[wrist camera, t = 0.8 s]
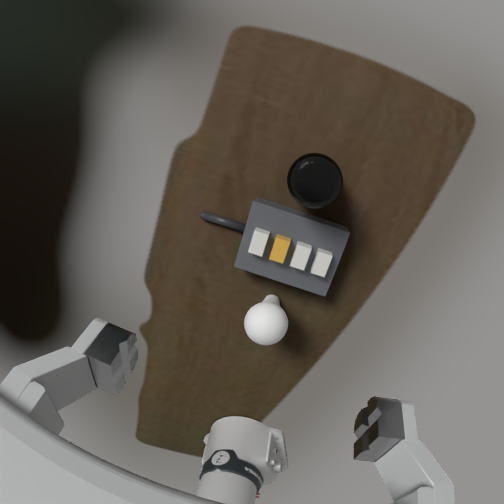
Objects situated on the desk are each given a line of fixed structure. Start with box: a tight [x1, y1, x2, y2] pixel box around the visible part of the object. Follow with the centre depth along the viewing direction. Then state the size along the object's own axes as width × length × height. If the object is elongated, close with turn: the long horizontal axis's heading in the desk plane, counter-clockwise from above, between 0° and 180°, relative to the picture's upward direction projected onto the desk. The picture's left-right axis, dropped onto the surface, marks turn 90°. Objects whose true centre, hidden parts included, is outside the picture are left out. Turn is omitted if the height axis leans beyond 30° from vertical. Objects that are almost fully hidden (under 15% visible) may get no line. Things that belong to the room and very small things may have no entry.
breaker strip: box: [200, 197, 350, 296], centre depth 46 cm, size 22×10×6 cm, turn 74°
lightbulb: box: [244, 295, 288, 345], centre depth 47 cm, size 6×6×11 cm
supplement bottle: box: [287, 153, 343, 209], centre depth 40 cm, size 7×7×12 cm
